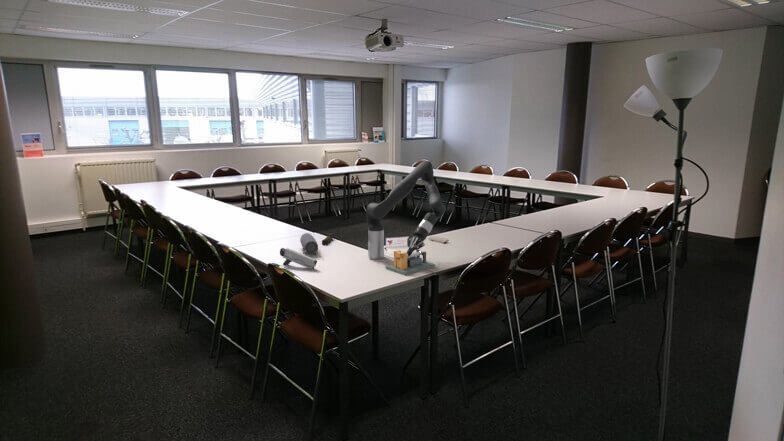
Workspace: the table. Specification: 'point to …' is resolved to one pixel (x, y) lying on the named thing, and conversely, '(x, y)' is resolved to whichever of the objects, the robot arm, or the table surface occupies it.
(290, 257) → the gun
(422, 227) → the robot arm
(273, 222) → the table surface
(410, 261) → the heat sink
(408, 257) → the grey rod
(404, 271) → the socket board
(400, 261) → the tan upright block
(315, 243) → the bluetooth speaker
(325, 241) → the hand tool
